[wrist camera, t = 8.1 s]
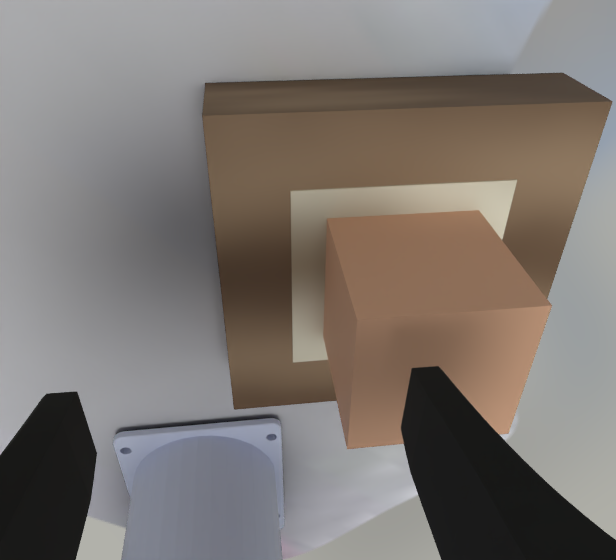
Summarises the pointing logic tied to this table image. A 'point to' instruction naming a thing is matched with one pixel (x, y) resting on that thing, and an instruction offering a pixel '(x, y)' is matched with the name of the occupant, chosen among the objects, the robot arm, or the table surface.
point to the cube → (425, 317)
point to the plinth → (375, 192)
